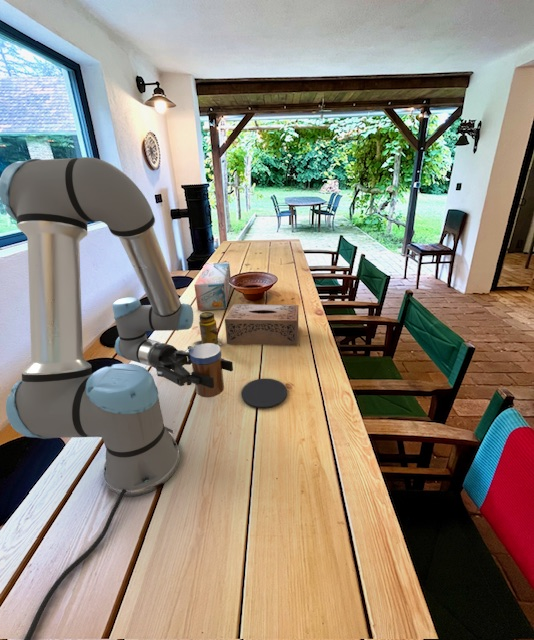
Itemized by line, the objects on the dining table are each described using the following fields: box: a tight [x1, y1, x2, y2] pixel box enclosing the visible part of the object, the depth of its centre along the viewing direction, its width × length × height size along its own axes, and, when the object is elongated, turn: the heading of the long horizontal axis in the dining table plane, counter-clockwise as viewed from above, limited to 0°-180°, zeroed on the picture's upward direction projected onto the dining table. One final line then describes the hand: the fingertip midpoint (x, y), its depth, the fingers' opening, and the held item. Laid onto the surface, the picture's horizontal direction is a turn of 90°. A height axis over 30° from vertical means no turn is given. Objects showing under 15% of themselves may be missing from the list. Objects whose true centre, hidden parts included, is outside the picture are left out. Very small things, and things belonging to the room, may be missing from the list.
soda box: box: [193, 261, 232, 311], centre depth 164 cm, size 41×14×13 cm, turn 3°
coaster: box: [240, 378, 288, 410], centre depth 91 cm, size 13×13×1 cm
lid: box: [190, 343, 222, 364], centre depth 83 cm, size 8×8×2 cm
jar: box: [191, 356, 225, 398], centre depth 85 cm, size 8×8×12 cm
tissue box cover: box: [224, 303, 300, 347], centre depth 122 cm, size 26×14×10 cm, turn 83°
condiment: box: [193, 311, 223, 347], centre depth 117 cm, size 7×8×12 cm
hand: (222, 374), depth 83 cm, fingers closed on jar, 8 cm apart
